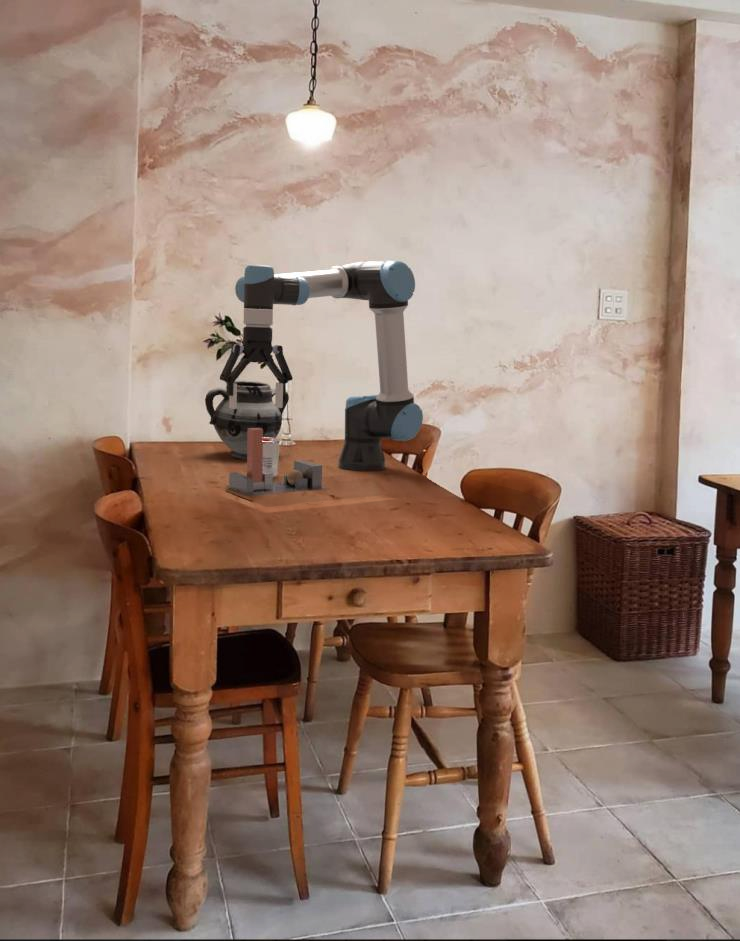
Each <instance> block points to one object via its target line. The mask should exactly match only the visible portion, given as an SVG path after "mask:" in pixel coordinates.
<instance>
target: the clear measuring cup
mask: <svg viewBox="0 0 740 941" xmlns="http://www.w3.org/2000/svg"><path fill="white" fill-rule="evenodd" d="M280 441H281V439H280V438H278V437H276V438H271V437H263V466H262V471H266V472H269V473H272V474H273V478H274V477H277V476H278V473H279V471H278V469H279V457H280Z"/></svg>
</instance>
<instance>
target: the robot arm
mask: <svg viewBox="0 0 740 941" xmlns="http://www.w3.org/2000/svg"><path fill="white" fill-rule="evenodd" d="M243 274H244V275H243V276H241V277H240V278H238V280H237V281H236V282H235V287H234V289H235V294H236V295H235V296H236V297H237V299H238V300H239V301H240V302H242V303H243V325H245V326H244V327H243V328H242V332H243V333H242V340H243V343H242V345H240V344H232V345H231V348H230V349H231V351H230V354H229V356H228V359H227V361H226V363H225V365H224V367H223V369H222V371H221V373H220V375H219V380H220V381H223V382H225V383H226V386H227V395H229V408H232V409H237V384H236V383H234V382H235V381H237V379H238V378H239V376H241V374H242V373H243V371H244V370H245V368H246V367H247V366H248V365H249V364H250V363H264V364H266V366H267V368H268V369H269V370H270V371H271V373H272V375H273V376H274V377H275V378H276V380H277V381H278V382H275V387H276V391H275V395H274V396H275V397H274V404H275V407H278V408H283V395H285V392H286V391H287V390H286V388H287V387H286V384H288V382H290V381H293V378H294V377H293V375H292V373H291V370H290V367H289V365H288V363H287V361H286V358H285V356H284V350H283V349H284V347H283V346H282V345H278V344H277V345H276V344H274V345H272V342H273V328H272V327H271V326H273V323H274V322H273V319H274V318H273V317H274V316H273V315H274V305H284V306H285V305H288V306H289V305H290V306H301V305H303V304H305V303H306V302H308V300H309V299H314V298H322V297H323V298H324V297H332V298H333V299H351V300H359V301H368V307H369V311H371V312H372V313H373V314H374V320H375V322H374V323H375V334H376V335H375V337H376V348H377V349H376V350H377V364H378V366H377V367H378V376H379V378H378V379H379V390H380V391H379V393H378V394H375V395H374V394H373V395H357V396H349V397H347V399H346V402H345V408H344V443H343V446H342V449H341V452H340V455H339V458H338V464H337V465H338V468H340V469H343V470H348V471H349V470H350V471H363V472H365V471H366V472H367V471H368V472H369V471H370V472H371V471H380V470H385V469H386V465H387V464H386V458H385V454H384V450H383V447H382V439H389V440H394V441H398V442H400V441H402V442H406V441H410V440H413V439H414V438H415V437H416V436H417V435H418V433H419V431H420V430H421V428H422V425H423V421H424V415H423V414H424V413H423V409H422V408H421V407H420V405H418V404H417V403H415V398H414V397H415V395H414V394H413V393H412V392H411V391H410V390H409V382H408V381H409V379H408V369H407V368H408V366H407V363H408V362H407V349H406V334H405V333H406V332H405V331H406V330H405V317H404V316H405V315H404V312H405V310H406V309H407V308H408V306H409V300H411V299H412V297H413V295H414V292H415V289H416V278H415V276H414V273H413V271H412V269H411V268H410V267H409V265H408V264H406V263H405V262H403V261H400V260H393V259H387V260H384V259H383V260H361V261H355V262H352V263H347V264H346V263H345V264H341V265H333V266H331V267H329V269H325V270H324V269H323V270H312V271H311V270H310V271H299V272H286V273H275V270H274V267H273V266H272V265H271V266H269V265H259V264H255V265H254V264H249V265H247V266H246V267H245V268H244V273H243ZM241 353H243V355H242V357H241V358H240V360H239V356H240V354H241ZM272 353H273V354H274V356H275V359H276V362H277V364H278V365H277V364H276V363H275V361H274V358H273V357H272V356H271V355H272ZM238 360H239V362H238V363H237V361H238ZM236 363H237V365H236ZM384 468H385V469H384Z"/></svg>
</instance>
